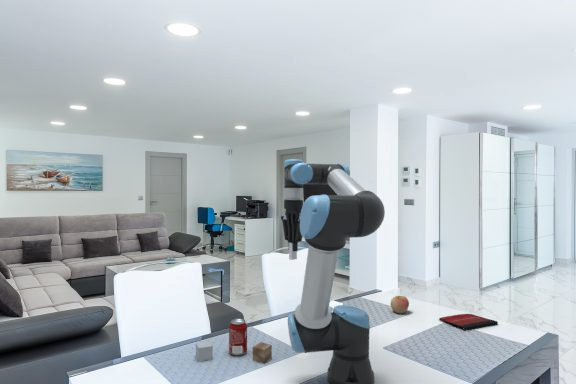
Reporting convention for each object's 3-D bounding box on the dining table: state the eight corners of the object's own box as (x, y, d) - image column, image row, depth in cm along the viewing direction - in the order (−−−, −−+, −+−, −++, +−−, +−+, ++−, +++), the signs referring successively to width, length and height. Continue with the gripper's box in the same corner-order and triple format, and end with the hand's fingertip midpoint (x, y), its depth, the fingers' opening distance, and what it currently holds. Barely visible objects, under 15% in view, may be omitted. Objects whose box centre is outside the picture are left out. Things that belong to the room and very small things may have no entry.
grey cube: (212, 359, 140) (212, 345, 140) (198, 362, 138) (198, 348, 138) (209, 354, 145) (209, 340, 145) (195, 356, 143) (195, 342, 143)
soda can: (243, 357, 142) (244, 324, 142) (226, 355, 144) (226, 323, 143) (249, 349, 149) (249, 318, 149) (232, 348, 150) (232, 317, 150)
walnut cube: (271, 358, 142) (271, 344, 142) (263, 363, 138) (264, 349, 137) (260, 355, 144) (260, 341, 144) (252, 360, 140) (252, 346, 140)
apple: (410, 311, 196) (410, 295, 196) (405, 316, 189) (405, 300, 189) (393, 308, 201) (393, 293, 201) (388, 313, 194) (388, 297, 193)
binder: (497, 321, 179) (464, 327, 170) (498, 326, 179) (464, 332, 170) (469, 311, 193) (437, 317, 185) (469, 316, 193) (437, 322, 185)
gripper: (311, 199, 149) (311, 260, 149) (290, 198, 159) (289, 255, 159) (297, 199, 144) (296, 263, 145) (275, 198, 154) (275, 257, 155)
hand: (292, 259), depth 152 cm, fingers closed
